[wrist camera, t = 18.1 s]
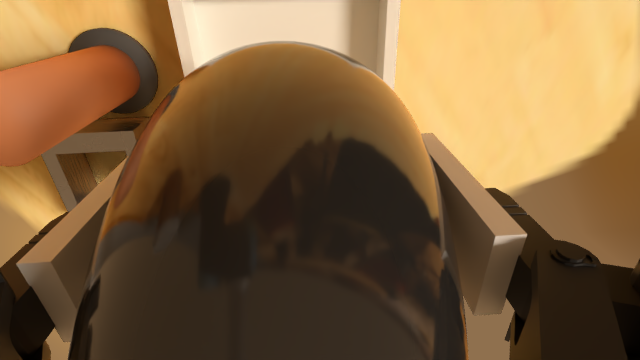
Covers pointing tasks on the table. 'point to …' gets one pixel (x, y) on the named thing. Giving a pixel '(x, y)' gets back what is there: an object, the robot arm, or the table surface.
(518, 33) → the table surface
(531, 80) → the table surface
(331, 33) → the dock cradle
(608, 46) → the table surface
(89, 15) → the table surface
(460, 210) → the robot arm
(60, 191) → the pin mount
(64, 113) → the pin
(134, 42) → the pin pad
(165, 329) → the dark piece
